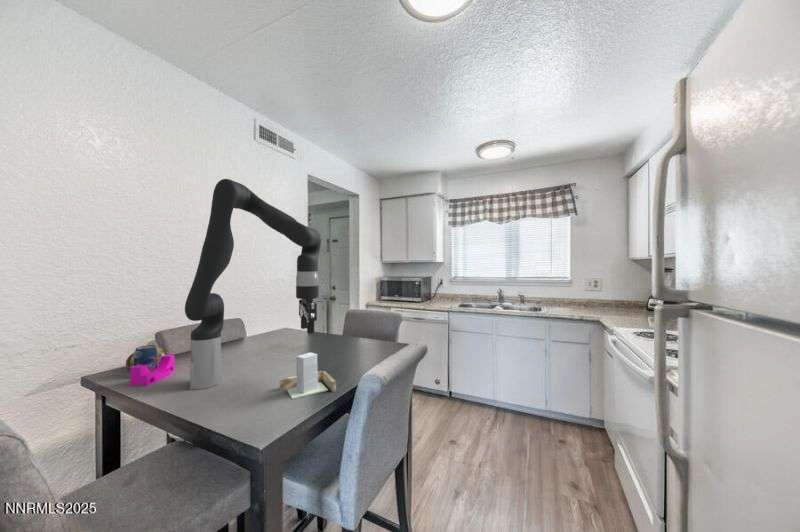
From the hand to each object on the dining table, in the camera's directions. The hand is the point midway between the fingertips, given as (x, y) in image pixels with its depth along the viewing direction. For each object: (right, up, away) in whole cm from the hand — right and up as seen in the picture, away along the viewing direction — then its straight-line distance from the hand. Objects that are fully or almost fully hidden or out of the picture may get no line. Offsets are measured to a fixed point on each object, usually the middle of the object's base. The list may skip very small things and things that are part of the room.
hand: (307, 330), depth 102 cm
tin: (-76, -22, +23) cm, 82 cm away
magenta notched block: (-61, -22, +10) cm, 66 cm away
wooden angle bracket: (0, -21, 0) cm, 21 cm away
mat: (0, -21, 0) cm, 21 cm away
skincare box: (0, -21, 0) cm, 21 cm away
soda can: (-68, -21, +13) cm, 72 cm away
